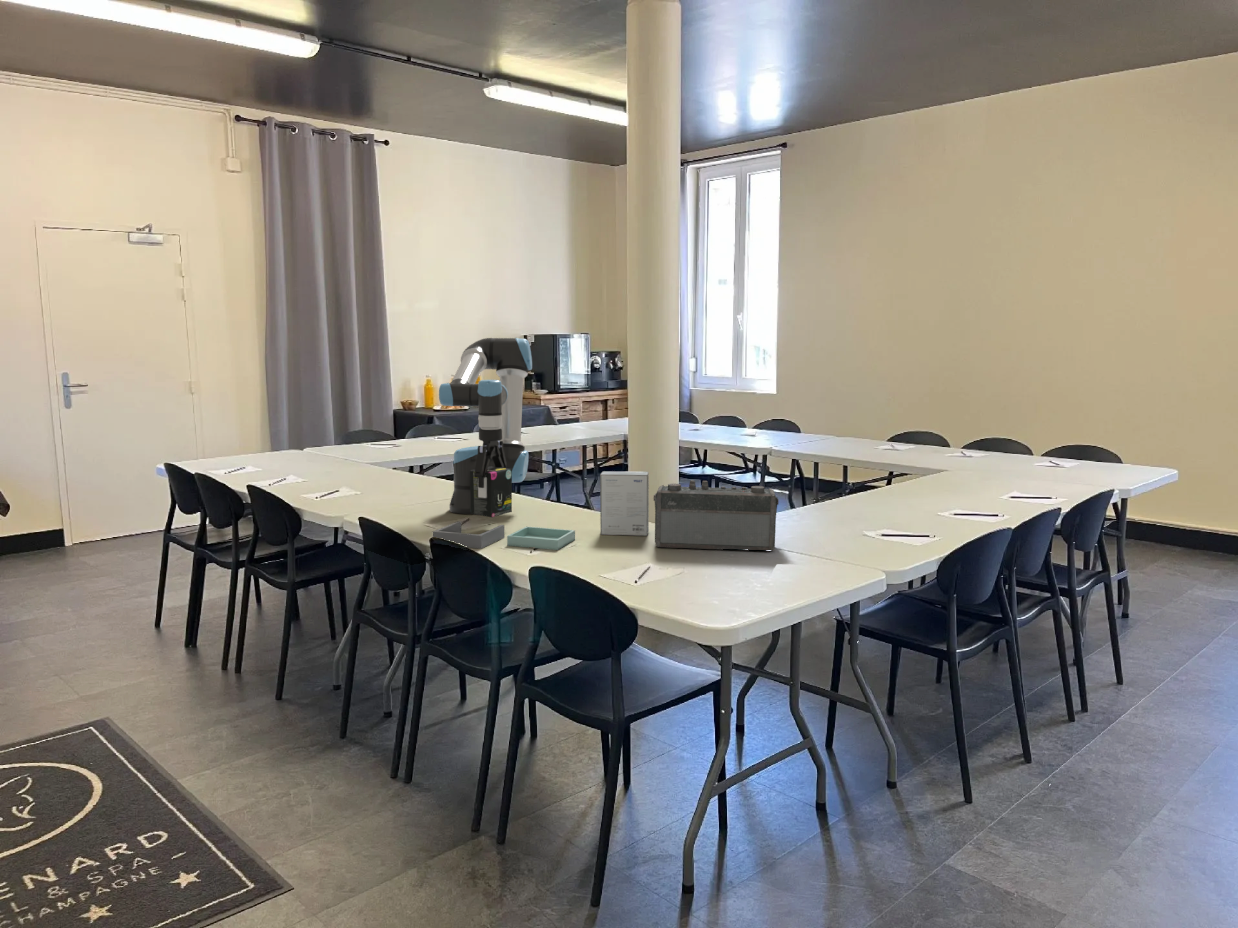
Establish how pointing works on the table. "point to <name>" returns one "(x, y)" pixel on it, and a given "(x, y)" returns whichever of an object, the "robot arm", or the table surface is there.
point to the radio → (715, 517)
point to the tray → (541, 538)
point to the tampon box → (492, 493)
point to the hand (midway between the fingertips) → (491, 493)
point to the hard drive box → (624, 503)
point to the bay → (469, 535)
